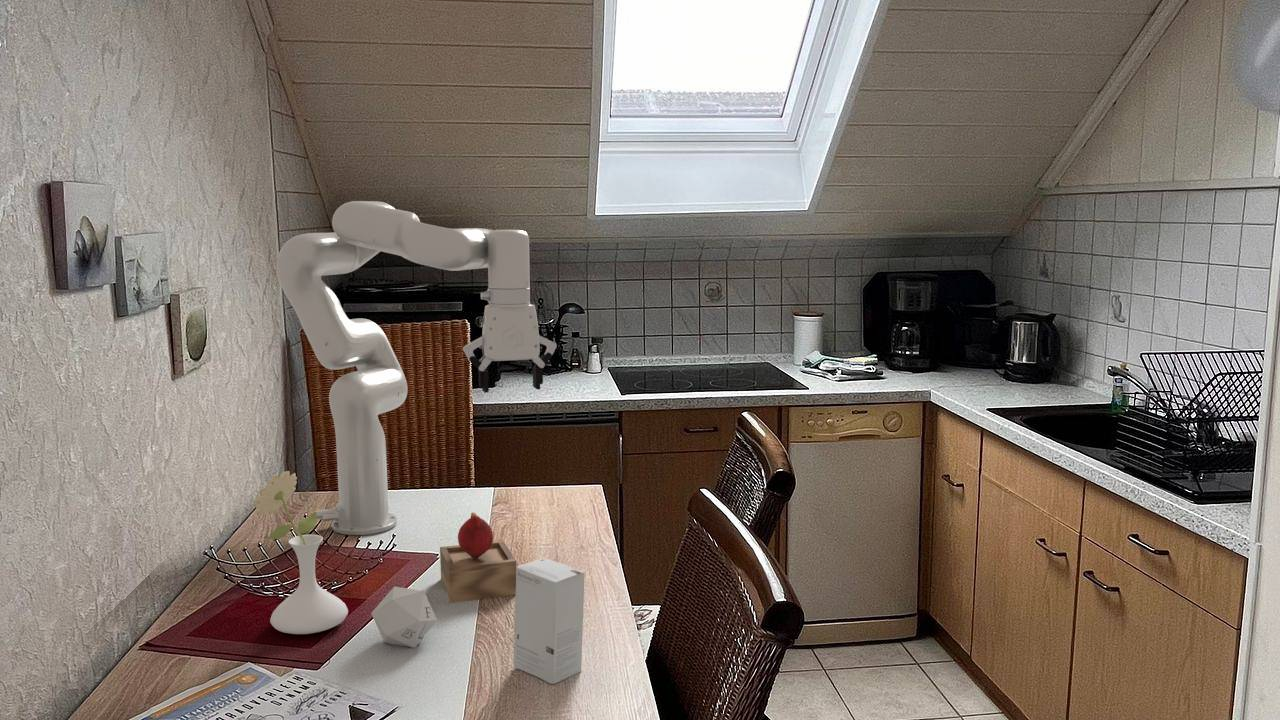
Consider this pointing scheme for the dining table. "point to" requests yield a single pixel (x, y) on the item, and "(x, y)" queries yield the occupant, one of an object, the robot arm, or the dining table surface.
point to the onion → (475, 536)
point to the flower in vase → (300, 568)
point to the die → (404, 616)
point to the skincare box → (548, 620)
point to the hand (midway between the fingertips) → (511, 389)
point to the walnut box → (478, 573)
